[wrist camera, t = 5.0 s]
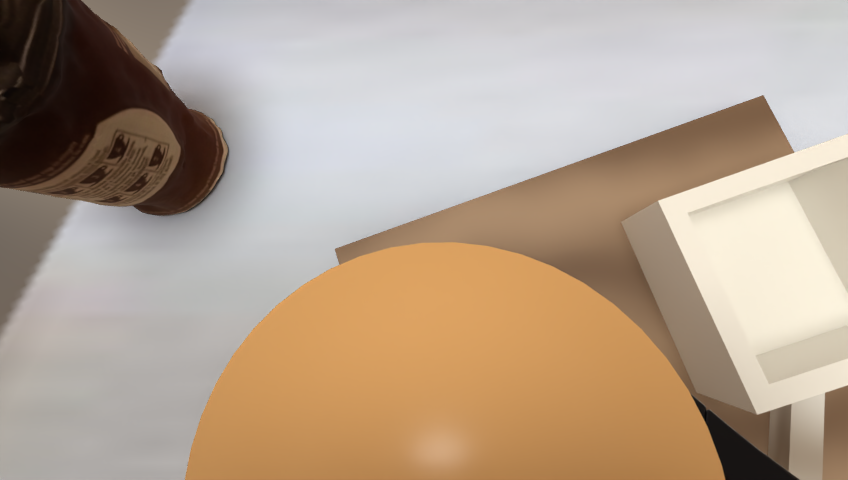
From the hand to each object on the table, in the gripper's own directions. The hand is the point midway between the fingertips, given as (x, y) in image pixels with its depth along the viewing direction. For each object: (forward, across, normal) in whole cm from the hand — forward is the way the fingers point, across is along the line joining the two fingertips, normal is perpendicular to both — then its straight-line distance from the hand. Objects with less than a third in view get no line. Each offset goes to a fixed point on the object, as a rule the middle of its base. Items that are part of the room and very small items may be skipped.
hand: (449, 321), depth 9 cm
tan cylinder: (+4, 0, +6) cm, 7 cm away
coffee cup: (+16, +15, +1) cm, 22 cm away
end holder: (+8, -13, +8) cm, 17 cm away
